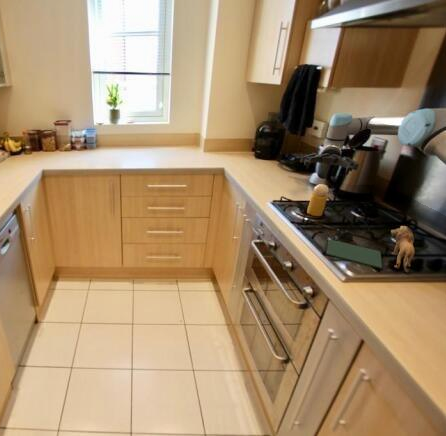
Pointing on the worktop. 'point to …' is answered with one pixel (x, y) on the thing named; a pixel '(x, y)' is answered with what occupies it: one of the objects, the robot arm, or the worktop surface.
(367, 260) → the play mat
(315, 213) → the peg doll
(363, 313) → the worktop surface
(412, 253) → the lion figurine
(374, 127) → the robot arm
